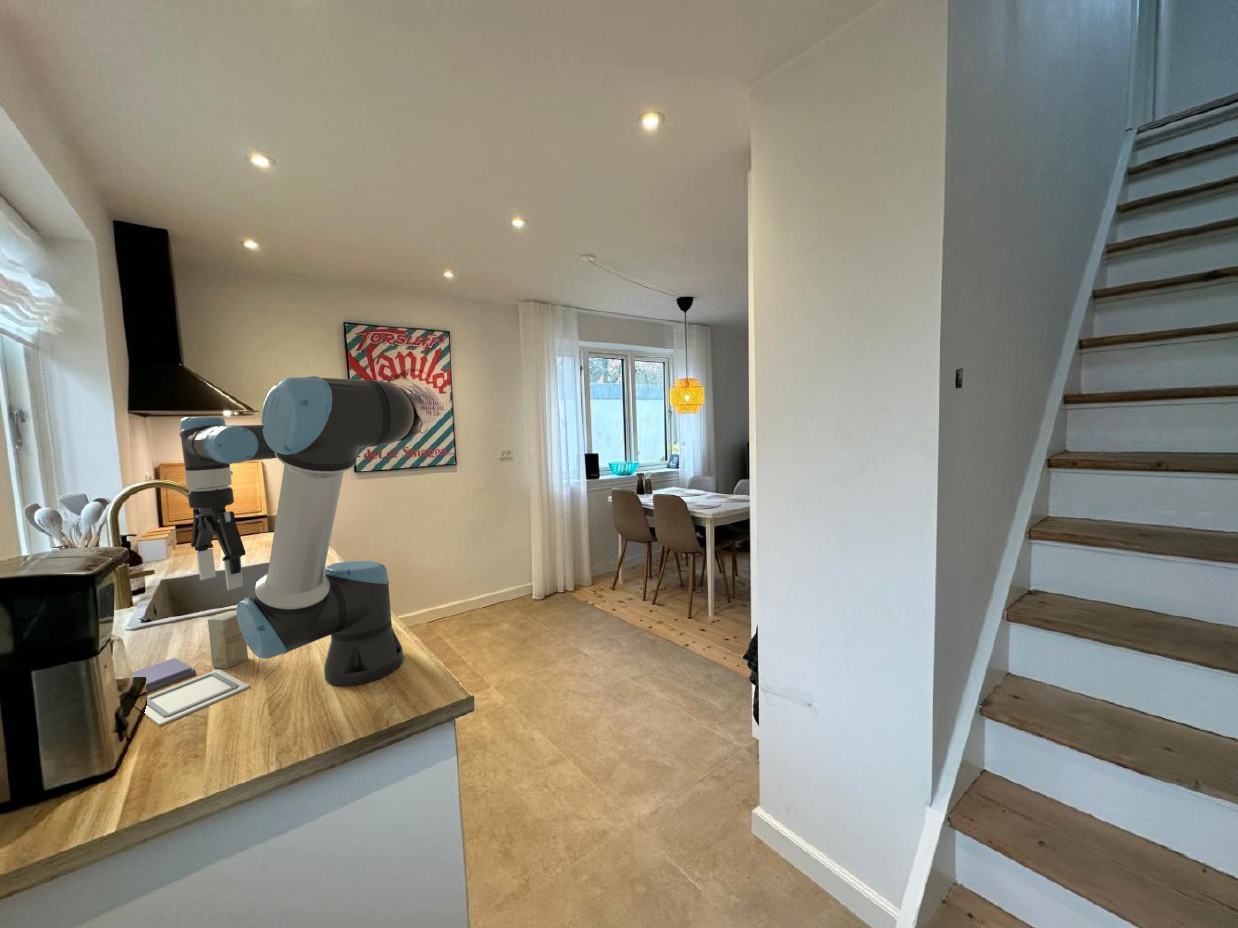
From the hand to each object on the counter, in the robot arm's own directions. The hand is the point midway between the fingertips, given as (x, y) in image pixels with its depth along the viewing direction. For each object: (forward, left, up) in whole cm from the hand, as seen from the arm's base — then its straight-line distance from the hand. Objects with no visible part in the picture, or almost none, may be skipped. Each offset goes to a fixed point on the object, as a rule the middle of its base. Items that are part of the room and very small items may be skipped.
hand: (221, 582), depth 108 cm
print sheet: (-9, +10, -18) cm, 23 cm away
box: (0, 0, -19) cm, 19 cm away
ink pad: (+6, +11, -18) cm, 22 cm away
